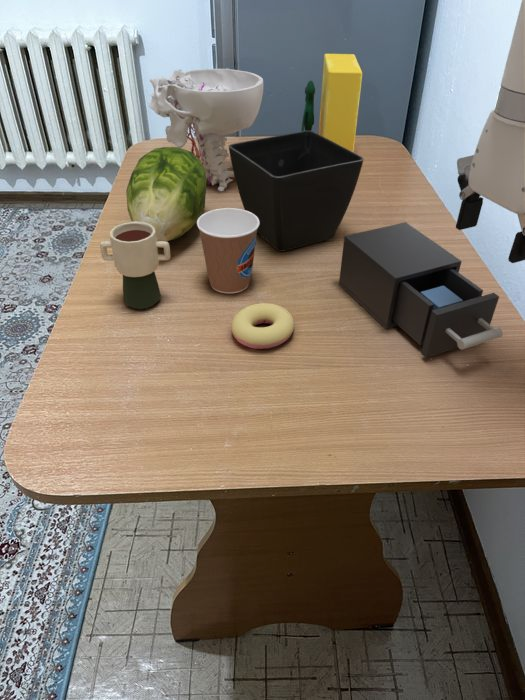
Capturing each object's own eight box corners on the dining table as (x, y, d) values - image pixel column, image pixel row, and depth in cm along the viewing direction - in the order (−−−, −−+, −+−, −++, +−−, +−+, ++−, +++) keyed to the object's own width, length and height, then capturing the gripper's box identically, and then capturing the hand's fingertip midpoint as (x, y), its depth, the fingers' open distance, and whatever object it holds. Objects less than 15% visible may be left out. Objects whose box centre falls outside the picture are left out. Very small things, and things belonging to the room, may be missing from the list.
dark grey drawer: (505, 354, 84) (521, 312, 80) (444, 375, 81) (457, 332, 76) (430, 294, 97) (440, 254, 92) (374, 309, 93) (381, 269, 88)
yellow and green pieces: (297, 152, 151) (303, 53, 136) (344, 153, 151) (354, 54, 135) (299, 178, 137) (305, 71, 122) (350, 179, 137) (362, 72, 122)
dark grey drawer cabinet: (448, 311, 95) (461, 260, 89) (385, 329, 90) (395, 278, 84) (396, 269, 105) (405, 222, 99) (338, 284, 101) (344, 235, 94)
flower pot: (228, 223, 118) (226, 142, 108) (305, 205, 125) (310, 128, 115) (272, 264, 105) (275, 177, 95) (355, 242, 113) (366, 159, 102)
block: (455, 326, 88) (463, 300, 85) (432, 334, 86) (439, 307, 83) (436, 311, 91) (443, 285, 88) (414, 318, 89) (420, 291, 86)
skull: (260, 167, 142) (262, 68, 128) (263, 199, 128) (265, 91, 113) (161, 167, 141) (150, 67, 127) (152, 199, 127) (139, 91, 112)
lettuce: (116, 265, 104) (102, 185, 95) (147, 203, 125) (138, 132, 115) (196, 269, 104) (190, 189, 94) (214, 206, 124) (211, 135, 115)
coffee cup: (248, 304, 95) (248, 240, 88) (191, 293, 98) (186, 230, 90) (265, 273, 103) (267, 212, 95) (213, 264, 105) (210, 204, 98)
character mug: (176, 289, 99) (170, 221, 90) (173, 313, 93) (165, 242, 85) (114, 289, 98) (101, 221, 90) (106, 313, 93) (92, 242, 84)
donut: (301, 345, 90) (264, 312, 95) (309, 323, 87) (271, 289, 92) (253, 363, 84) (217, 327, 89) (260, 340, 81) (222, 303, 86)
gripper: (622, 123, 58) (564, 268, 69) (500, 83, 70) (468, 211, 81) (569, 132, 56) (518, 281, 66) (453, 89, 68) (426, 221, 79)
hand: (491, 243), depth 74 cm, fingers open, 9 cm apart
